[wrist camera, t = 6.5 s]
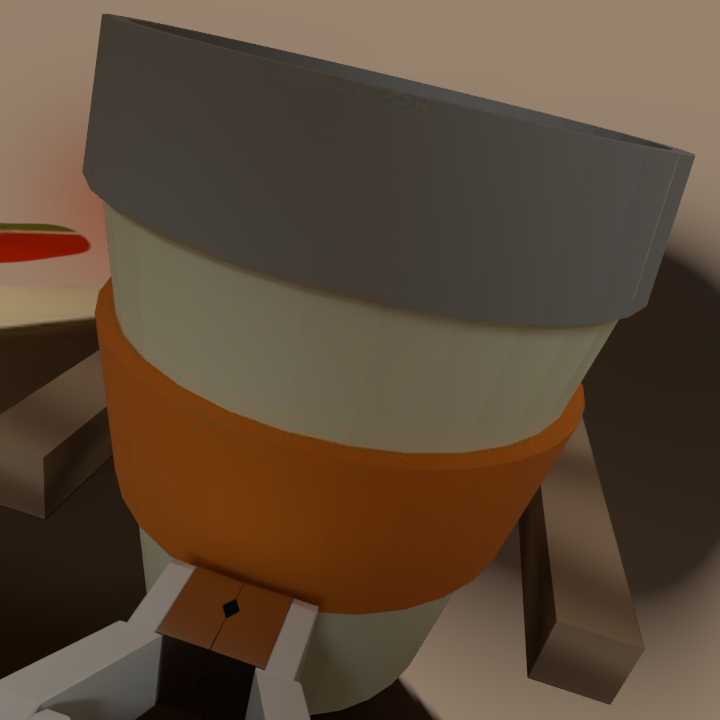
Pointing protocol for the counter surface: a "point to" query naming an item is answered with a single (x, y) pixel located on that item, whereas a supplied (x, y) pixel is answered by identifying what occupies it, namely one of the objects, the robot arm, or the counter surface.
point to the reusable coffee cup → (349, 321)
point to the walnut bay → (536, 527)
